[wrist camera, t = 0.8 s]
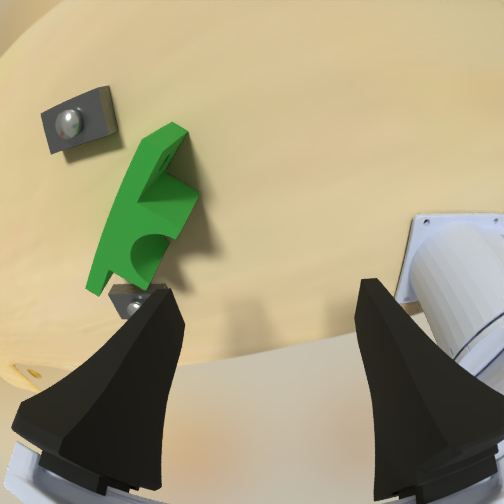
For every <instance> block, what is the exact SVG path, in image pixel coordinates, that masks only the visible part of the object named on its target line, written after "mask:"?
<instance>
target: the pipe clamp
mask: <svg viewBox="0 0 504 504" xmlns="http://www.w3.org/2000/svg"><path fill="white" fill-rule="evenodd" d="M187 132H188V131H187V130H185V129H184V128H182V127H180V126H179V125H177V124H175V123H173V122H171V123H169V124H167V125H166V126H164V127H162V128H160V129H159V130H157V131H155V132H153V133H152V134H150V135H149V136H147V137H145V138H144V139H142V140H141V142H140V144H139V146H138V149H137V151H136V153H135V155H134V157H133V159H132V161H131V163H130V166H129V168H128V170H127V172H126V175H125V177H124V179H123V181H122V184H121V186H120V189H119V191H118V193H117V196H116V198H115V201H114V203H113V206H112V208H111V211H110V214H109V216H108V219H107V222H106V225H105V227H104V230H103V233H102V236H101V239H100V242H99V245H98V248H97V251H96V254H95V257H94V260H93V264H92V267H91V270H90V274H89V277H88V281H87V284H86V288H85V289H87V290H89V291H90V292H92V293H93V294H95V295H97V296H98V297H99V296H100V294H101V293H102V291H103V289H104V288H105V286H106V284H107V283H108V281H109V279H110V278H111V276H112V274H113V273H115V274H117V275H119V276H121V277H122V278H124V279H126V280H127V281H129V282H131V283H133V284H134V285H136V286H138V287H140V288H142V289H143V290H145V291H146V289H147V288H148V286H149V284H150V282H151V280H152V278H153V276H154V274H155V271H156V269H157V267H158V265H159V263H160V261H161V259H162V257H163V255H164V253H165V251H166V249H167V247H168V245H169V243H170V242H169V241H167V240H166V239H165V238H164V237H163V236H162V235H165V236H168V237H171V238H173V239H175V240H176V238H177V237H178V235H179V233H180V232H181V230H182V228H183V226H184V224H185V222H186V220H187V218H188V216H189V214H190V212H191V210H192V209H193V207H194V205H195V203H196V201H197V199H198V197H199V195H200V193H199V192H198V191H196V190H194V189H193V188H191V187H189V186H188V185H186V184H185V183H183V182H181V181H180V180H178V179H176V178H175V177H173V176H171V175H170V174H168V173H166V172H165V170H166V169H167V167H168V165H169V163H170V161H171V160H172V158H173V156H174V154H175V153H176V151H177V149H178V147H179V146H180V144H181V142H182V141H183V139H184V137H185V136H186V134H187Z"/></svg>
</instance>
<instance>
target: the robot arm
mask: <svg viewBox="0 0 504 504" xmlns="http://www.w3.org/2000/svg"><path fill="white" fill-rule="evenodd" d="M427 219H428V220H427ZM425 220H427V222H426V223H424V221H425ZM418 301H419V303H420V305H421V307H422V309H423V312H424V314H425V316H426V318H427V321H428V323H429V325H430V327H431V330H432V332H433V335H434V337H435V340H436V342H437V345H438V346H437V345H436V344H435V343H434V342H433V341H432V340H431V339H430V338H429V337H428V336H427V335H426V334H425V333H424V331H422V329H421V328H420V327H419V326H418V325H417V324H416V323H415V322H414V321H413V319H412V318H411V317H410V316H409V315H408V314H407V313H406V312H405V310H404V309H403V308H402V307H401V306H400V305H399V304H402V303H410V302H418ZM354 319H355V326H356V333H357V339H358V344H359V348H360V352H361V356H362V360H363V364H364V368H365V372H366V376H367V380H368V384H369V388H370V393H371V399H372V406H373V418H374V432H375V479H374V480H375V481H374V501H380V500H384V499H388V498H392V497H396V496H399V500H396V501H392V502H387V503H384V504H504V214H503V213H440V214H417V215H416V216H415V217H414V218H413V220H412V226H411V231H410V236H409V241H408V246H407V250H406V255H405V259H404V264H403V268H402V272H401V276H400V280H399V283H398V287H397V291H396V294H395V299H394V297H393V296H392V295H391V294H390V293H389V291H388V290H387V289H386V288H385V287H384V286H383V284H382V283H381V282H380V281H379V280H378V279H377V278H371V279H361V284H360V290H359V295H358V301H357V306H356V312H355V317H354ZM184 329H185V323H184V320H183V318H182V315H181V313H180V310H179V308H178V305H177V303H176V300H175V298H174V295H173V292H172V290H171V288H169V289H156V290H155V291H154V292H153V293H152V294H151V295H150V296H149V297H148V298H147V300H146V301H145V302H144V303H143V304H142V305H141V306H140V307H139V308H138V310H137V311H136V312H135V313H134V314H133V315H132V316H131V317H130V318H129V319H128V321H127V322H126V323H125V324H124V325H123V326H122V327H121V328H120V329H119V330H118V331H117V332H116V333H115V334H114V335H113V336H112V337H111V338H110V339H109V340H108V341H107V342H106V343H105V344H104V345H103V346H102V347H101V348H100V349H99V350H98V351H97V352H96V353H95V354H94V355H93V356H91V357H90V358H89V359H88V360H87V361H86V362H84V363H83V364H82V365H81V366H79V367H78V368H77V369H75V370H74V371H73V372H71V373H70V374H69V375H68V376H66V377H65V378H63V379H62V380H60V381H59V382H57V383H56V384H54V385H53V386H51V387H49V388H48V389H46V390H44V391H42V392H41V393H39V394H37V395H35V396H33V397H31V398H29V399H27V400H25V401H23V402H21V404H20V406H19V409H18V411H17V414H16V416H15V419H14V421H13V424H12V427H11V428H12V430H13V431H14V432H16V433H17V434H19V435H20V436H21V437H23V438H24V439H26V440H27V441H29V442H30V443H32V444H34V445H35V446H37V447H38V448H40V449H41V450H43V451H42V454H41V455H40V454H38V453H37V452H35V451H33V450H31V449H30V448H28V447H26V446H24V445H23V444H22V443H20V442H16V445H15V447H14V450H13V453H12V456H11V459H10V463H9V466H8V469H7V473H6V476H5V480H4V484H3V485H4V487H5V488H6V489H8V490H9V491H10V492H11V493H13V494H14V495H15V496H16V497H18V498H19V499H20V500H21V501H22V502H24V503H25V504H167V503H163V502H159V501H155V500H151V499H147V498H143V497H139V496H136V495H133V494H130V493H129V490H130V489H133V490H137V491H138V490H139V487H142V488H145V489H149V490H153V491H156V490H158V489H160V488H161V487H162V483H161V455H162V454H161V453H162V438H163V427H164V419H165V412H166V404H167V400H168V395H169V391H170V388H171V384H172V380H173V377H174V373H175V370H176V366H177V363H178V359H179V356H180V352H181V348H182V343H183V337H184Z"/></svg>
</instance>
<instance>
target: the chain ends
mask: <svg viewBox="0 0 504 504" xmlns="http://www.w3.org/2000/svg"><path fill="white" fill-rule="evenodd" d="M41 118H42V122H43V126H44V130H45V134H46V138H47V142H48V146H49V149H50V153H51V154H54V153H57V152H59V151H62V150H65V149H68V148H70V147H73V146H76V145H79V144H82V143H85V142H88V141H91V140H95V139H98V138H101V137H104V136H108V135H110V134H112V133H114V132H116V131H118V127H117V123H116V119H115V114H114V109H113V104H112V99H111V94H110V89H109V86H104V87H99V88H96V89H93V90H91V91H88V92H86V93H84V94H81V95H79V96H76V97H74V98H72V99H70V100H67V101H65V102H63V103H61V104H59V105H57V106H55V107H53V108H51V109H49V110H47V111H45V112H43V113H41ZM156 289H167V287H166V284H149V286H148V288H147V289H146V291H145V290H143V289H142V288H140V287H138V286H136V285H134V284H118V285H113V286H112V288H111V290H110V292H109V293H108V295H109V297H110V299H111V301H112V302H113V304H114V306H115V308H116V310H117V312H118V313H119V315H120V317H121V319H129V318H130V317H131V316H132V315H133V314H134V313H135V312H136V311H137V310H138V308H139V307H140V306H141V305H142V304H143V303H144V302H145V301H146V300H147V298H148V297H149V296H150V295H151V294H152V293H153V292H154V291H155V290H156Z"/></svg>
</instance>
